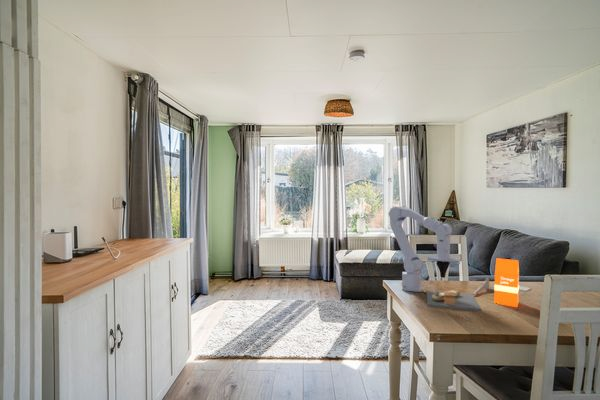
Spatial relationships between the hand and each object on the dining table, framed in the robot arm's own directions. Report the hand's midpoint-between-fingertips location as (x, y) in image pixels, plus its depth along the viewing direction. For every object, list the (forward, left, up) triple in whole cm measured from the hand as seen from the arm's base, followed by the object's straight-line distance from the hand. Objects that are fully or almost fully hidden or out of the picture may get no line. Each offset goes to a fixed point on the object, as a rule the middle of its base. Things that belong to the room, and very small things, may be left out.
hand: (443, 277), depth 159 cm
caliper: (+19, +14, -10) cm, 25 cm away
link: (+1, -5, -8) cm, 10 cm away
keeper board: (+3, -6, -9) cm, 12 cm away
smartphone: (+37, +30, -10) cm, 48 cm away
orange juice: (+27, 0, -10) cm, 28 cm away
